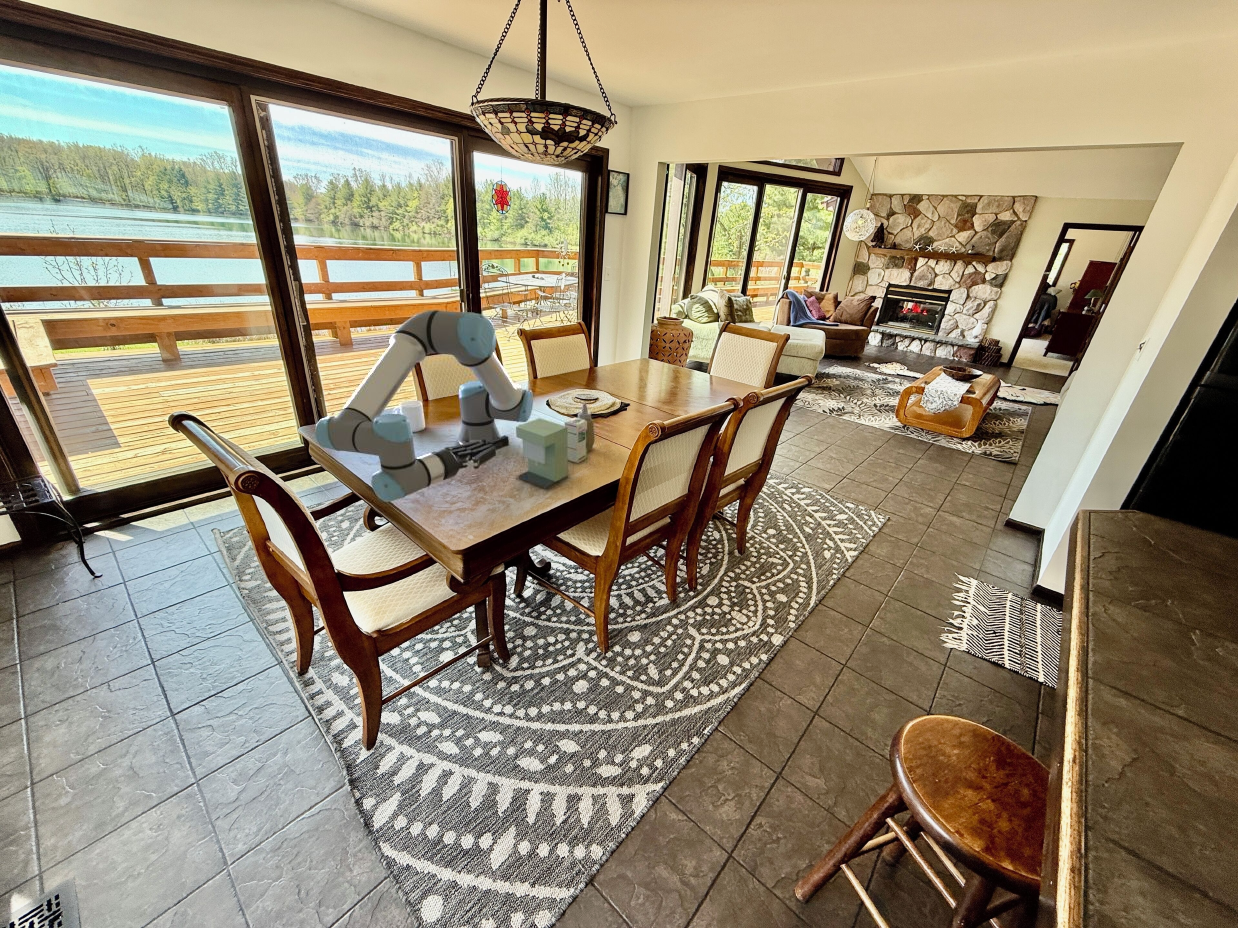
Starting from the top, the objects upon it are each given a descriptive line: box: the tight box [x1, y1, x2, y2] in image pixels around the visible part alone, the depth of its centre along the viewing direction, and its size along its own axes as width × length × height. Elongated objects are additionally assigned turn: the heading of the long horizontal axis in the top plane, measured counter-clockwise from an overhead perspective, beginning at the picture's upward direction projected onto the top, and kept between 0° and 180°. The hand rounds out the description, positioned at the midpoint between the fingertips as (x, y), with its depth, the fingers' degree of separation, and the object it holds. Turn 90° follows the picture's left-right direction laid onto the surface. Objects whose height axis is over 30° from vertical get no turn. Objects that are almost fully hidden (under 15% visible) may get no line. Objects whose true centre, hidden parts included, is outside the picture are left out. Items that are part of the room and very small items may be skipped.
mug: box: [392, 400, 426, 433], centre depth 188 cm, size 12×8×10 cm
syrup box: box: [564, 416, 588, 464], centre depth 169 cm, size 6×6×14 cm
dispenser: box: [515, 417, 569, 490], centre depth 153 cm, size 10×12×18 cm
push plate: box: [521, 439, 546, 464], centre depth 149 cm, size 1×9×6 cm, turn 56°
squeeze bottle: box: [577, 402, 596, 453], centre depth 175 cm, size 8×8×18 cm
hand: (506, 440), depth 138 cm, fingers closed
